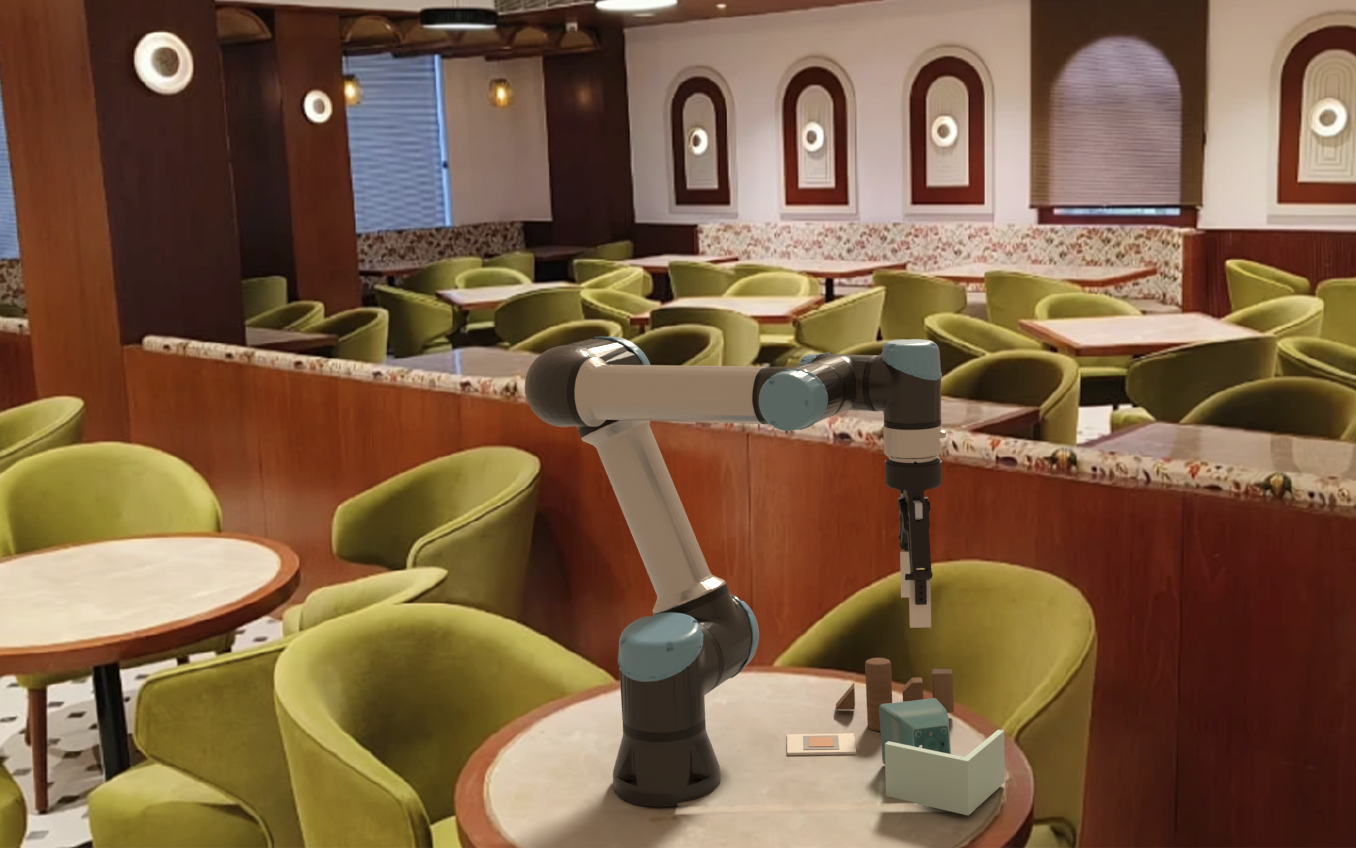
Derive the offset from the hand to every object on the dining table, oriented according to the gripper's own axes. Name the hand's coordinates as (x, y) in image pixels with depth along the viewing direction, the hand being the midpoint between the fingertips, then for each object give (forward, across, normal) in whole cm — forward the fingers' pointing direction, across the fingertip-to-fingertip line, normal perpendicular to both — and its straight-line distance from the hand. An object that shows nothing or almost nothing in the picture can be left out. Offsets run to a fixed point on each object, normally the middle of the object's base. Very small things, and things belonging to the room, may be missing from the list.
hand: (915, 611), depth 197 cm
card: (+25, +14, +13) cm, 31 cm away
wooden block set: (+25, +22, +2) cm, 33 cm away
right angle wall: (+25, -2, -4) cm, 25 cm away
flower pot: (+19, -1, -2) cm, 19 cm away
